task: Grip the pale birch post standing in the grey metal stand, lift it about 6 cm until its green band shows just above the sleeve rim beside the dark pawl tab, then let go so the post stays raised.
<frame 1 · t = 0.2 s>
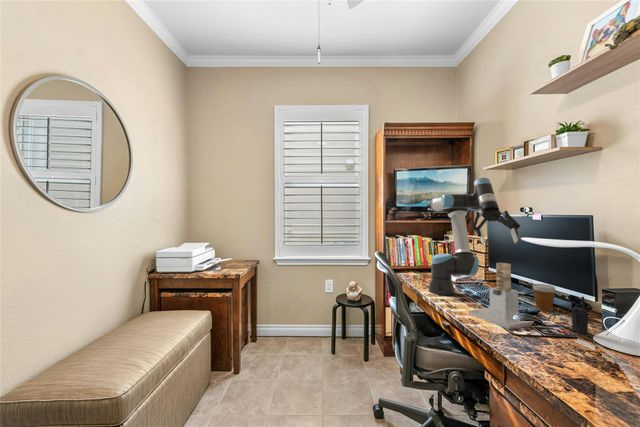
hand: (499, 242, 132), 36 cm above the table, tool tilted 35°, fingers open, 13 cm apart
two-way radio: (578, 332, 119), on the table
disposable coffee cup: (544, 309, 147), on the table
post: (503, 289, 135), point 13 cm above the table, slide at 0.0 cm
stand: (503, 318, 135), on the table
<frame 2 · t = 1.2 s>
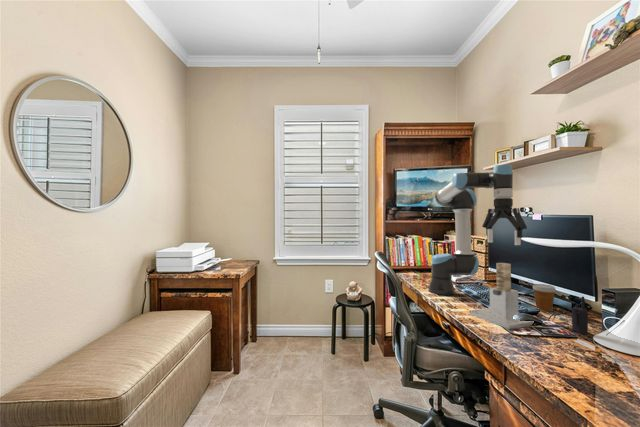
hand: (503, 243, 135), 35 cm above the table, tool pointing down, fingers open, 13 cm apart
post: (503, 289, 135), point 13 cm above the table, slide at 0.0 cm, touching stand
everything else where it was.
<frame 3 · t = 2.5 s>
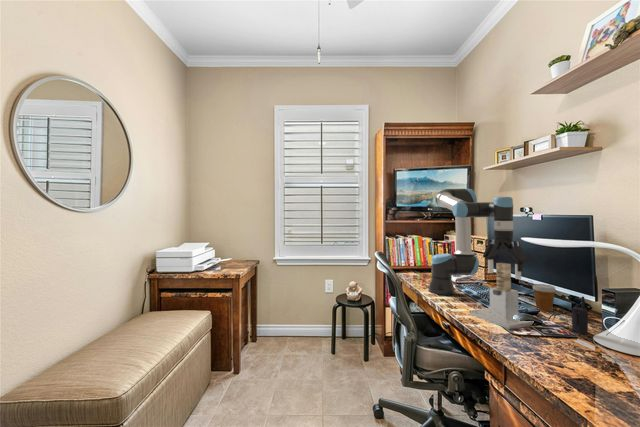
hand: (503, 275, 135), 20 cm above the table, tool pointing down, fingers open, 13 cm apart
nothing on the table moved.
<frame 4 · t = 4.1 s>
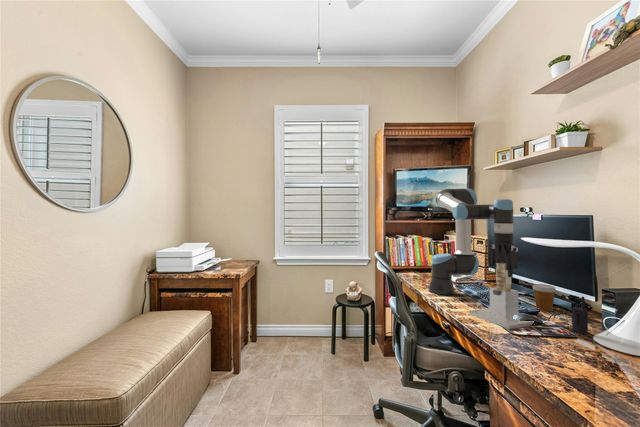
hand: (503, 282, 135), 17 cm above the table, tool pointing down, fingers closed on post, 4 cm apart
post: (503, 289, 135), point 13 cm above the table, slide at 0.0 cm, touching gripper, stand
everything else where it was.
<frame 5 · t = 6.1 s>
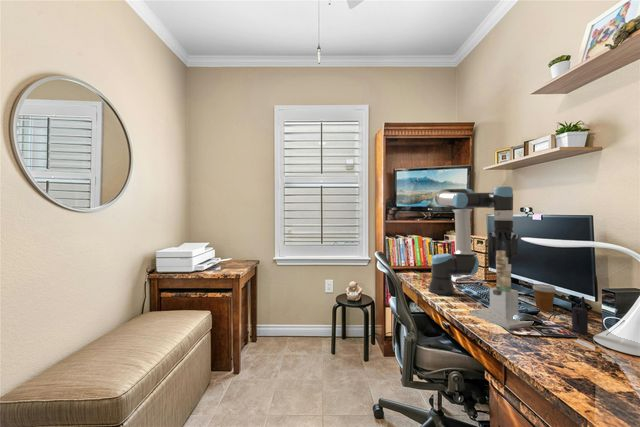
hand: (503, 269, 135), 23 cm above the table, tool pointing down, fingers closed on post, 4 cm apart
post: (503, 276, 135), point 19 cm above the table, slide at 5.9 cm, touching gripper
everything else where it was.
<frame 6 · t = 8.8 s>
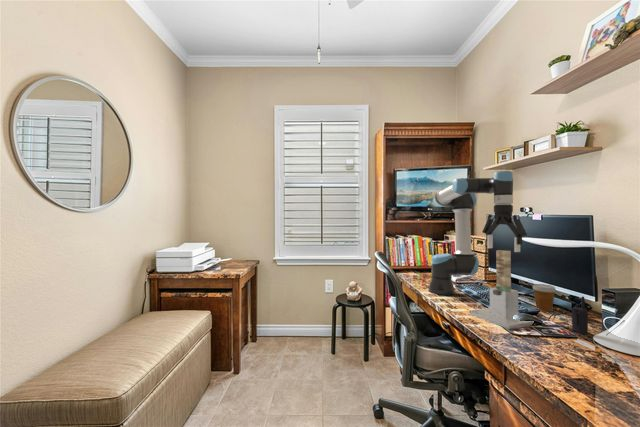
hand: (503, 249, 135), 32 cm above the table, tool pointing down, fingers open, 13 cm apart
post: (503, 276, 135), point 19 cm above the table, slide at 6.0 cm
everything else where it was.
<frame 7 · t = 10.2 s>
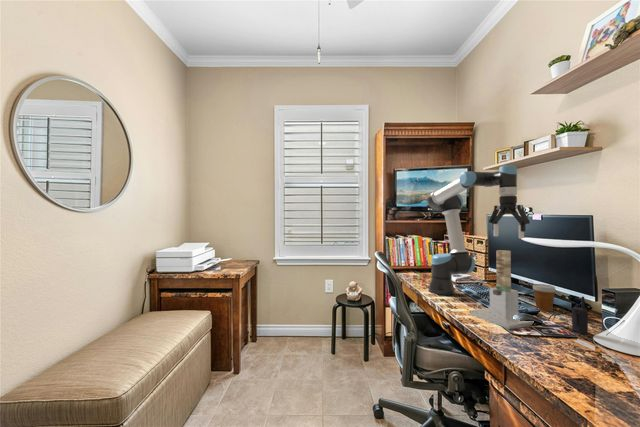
hand: (508, 237, 148), 37 cm above the table, tool pointing down, fingers open, 13 cm apart
nothing on the table moved.
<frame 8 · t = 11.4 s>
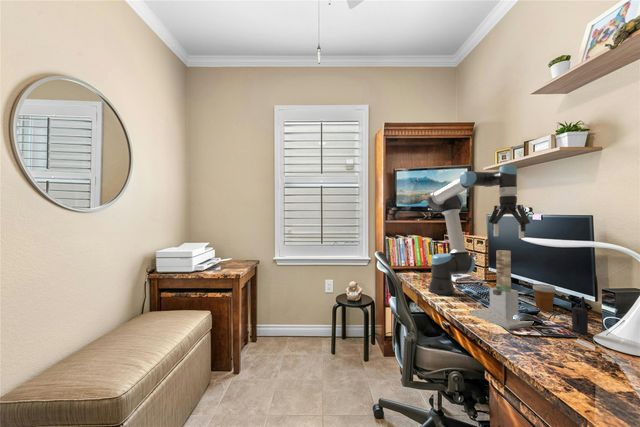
hand: (508, 237, 148), 37 cm above the table, tool pointing down, fingers open, 13 cm apart
nothing on the table moved.
at the end: post slide at 6.0 cm; the gripper is holding nothing; two-way radio moved 0.2 cm from its start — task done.
